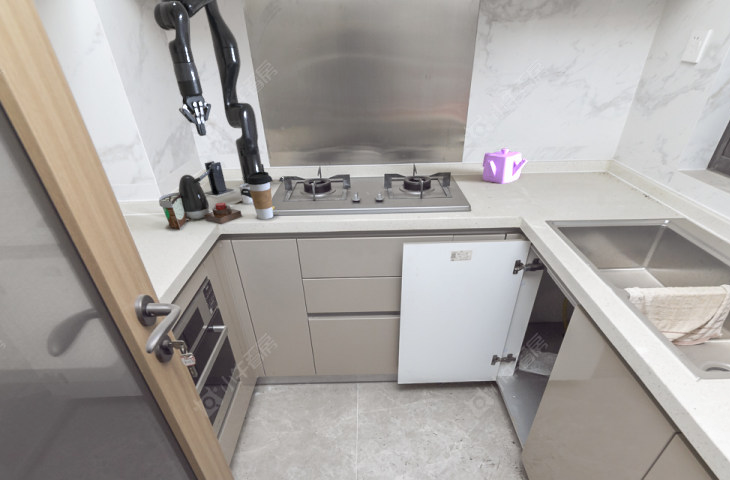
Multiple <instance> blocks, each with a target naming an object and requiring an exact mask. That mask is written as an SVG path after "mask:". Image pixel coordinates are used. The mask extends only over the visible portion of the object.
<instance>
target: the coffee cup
mask: <svg viewBox="0 0 730 480" xmlns="http://www.w3.org/2000/svg"><path fill="white" fill-rule="evenodd" d="M268 174H269V172H268V173H267V171H264V172H254V173H252V174H250V175H248V176H247V184H249V188H250V193H251V197H252V200H253V203H254V204H253V206H254V210H255V213H256V217H257V219H260V220H268V219H271V218H273V217H274V210H273V198H272V197H273V196H272V187H271V180H270V178H269V176H270V174H269V175H268Z"/></svg>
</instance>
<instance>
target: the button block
mask: <svg viewBox="0 0 730 480" xmlns="http://www.w3.org/2000/svg"><path fill="white" fill-rule="evenodd" d="M211 210H212V211H211V212H208V214H205V215H204V216H205V217H204V219H205V221H206V222H210V223H215V224H219V225H223V224H226V223H228V222H231V221H233V220H236V219H239V218H241V217H243V214H242V211H241V210H240V209H234V208H232V207H231V206H230V205H227V204H226V208H225V209H216V206H213V207H212V208H211Z"/></svg>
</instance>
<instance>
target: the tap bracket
mask: <svg viewBox="0 0 730 480" xmlns="http://www.w3.org/2000/svg"><path fill="white" fill-rule="evenodd" d="M212 163H213V164H212ZM210 164H211V167H212V171H213V172H212V171H211V172H210V173H209V174H208V175H207V180H208V183H209V186H210V190H209V191H206V192H204V193H205V195H210V196H216V197H218V196H220V195H223V194H226V193H230V192H234V191H235V189H232V188H228V187H227V184H226V181H225V177H224V171H223V168H222V163H221V162H220V161H218V162H215V161H213V160H211V161H208V162H205V163H204V167H205V172H206V171H207V170H208V169H209V167H208V166H209V165H210Z"/></svg>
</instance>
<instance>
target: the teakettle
mask: <svg viewBox="0 0 730 480" xmlns="http://www.w3.org/2000/svg"><path fill="white" fill-rule="evenodd" d="M482 161H483V162H482V167H483V171H482V180H483V181H485V182H490V183H496V184H508V183H511V182H514V181H516V180H518V179H519V177H520V175H521V172H522V171H521V170H522V168H523V167H524V166H525V165H526V163H527V162H528V159H526V158H522V153H521V152H520V151H510V149H509V148H501V149H500V150H499V151H494V152H485V153H484V155H483V160H482Z"/></svg>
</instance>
